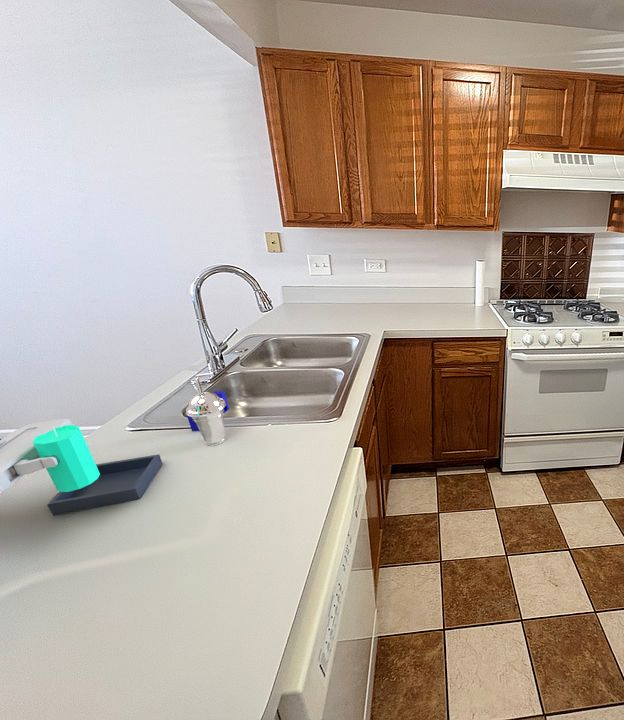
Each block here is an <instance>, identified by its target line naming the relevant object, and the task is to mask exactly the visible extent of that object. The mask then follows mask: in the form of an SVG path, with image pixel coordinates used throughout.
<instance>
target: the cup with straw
mask: <svg viewBox="0 0 624 720" xmlns="http://www.w3.org/2000/svg"><path fill="white" fill-rule="evenodd" d="M210 376H216V372H214V371H213V372H205V373H197V374H195V376H194V380H195V383H196V387H197V390H198V393H197V394H195V395H194V396H193V397H191V399H190V400H189V403H188V406H187V407H186V409H185V415H186V416H187V415H188V416H191V417H192V419H193V420H194V422H195V423H196V424H197V427H198V429H199V431H198V432H200V434H201V437H202V439H203V440H204V442H205V444H206V446H208V447H213V446H217V445H221V444H223V443H224V442H225V441H226V440H227V436H226V435H227V431H226V424H225V417H224V415H225V413H224V412H223V411H224V409H223V408H224V407H225V406H226V402H225V401H224V400H223V399H221V398H219V397H218V396H217V395H216V394H214V393H213V392H211V391H203V389H202V388H203V387H202V385H201V382H200V379H199V378H202V377H210Z"/></svg>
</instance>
